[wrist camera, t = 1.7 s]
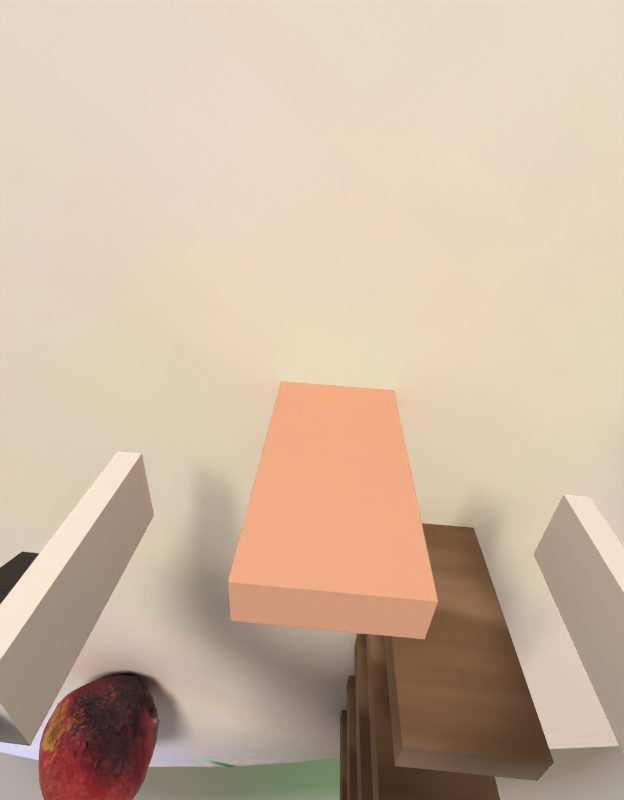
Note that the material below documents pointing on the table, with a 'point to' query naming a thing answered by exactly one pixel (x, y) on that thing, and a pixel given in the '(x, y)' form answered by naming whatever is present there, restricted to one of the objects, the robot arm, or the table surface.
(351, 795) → the domino
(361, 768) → the domino
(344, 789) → the domino
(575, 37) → the table surface
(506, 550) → the table surface
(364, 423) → the domino
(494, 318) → the table surface
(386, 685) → the domino
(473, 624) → the domino
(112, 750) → the fruit
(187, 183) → the table surface
